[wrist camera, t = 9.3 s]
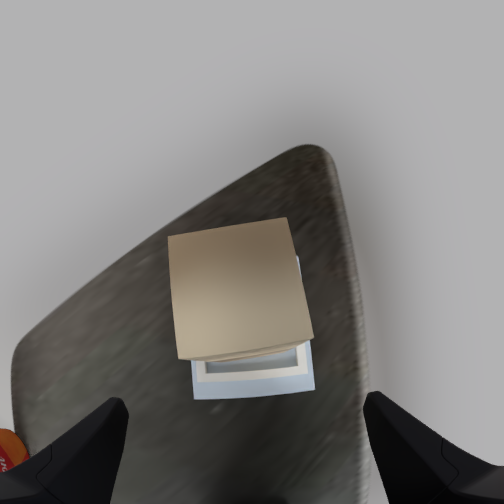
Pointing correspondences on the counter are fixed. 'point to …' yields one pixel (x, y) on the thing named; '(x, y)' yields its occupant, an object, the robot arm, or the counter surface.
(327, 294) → the counter surface
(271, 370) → the board
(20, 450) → the paper cup
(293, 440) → the counter surface
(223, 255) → the birch pillar
